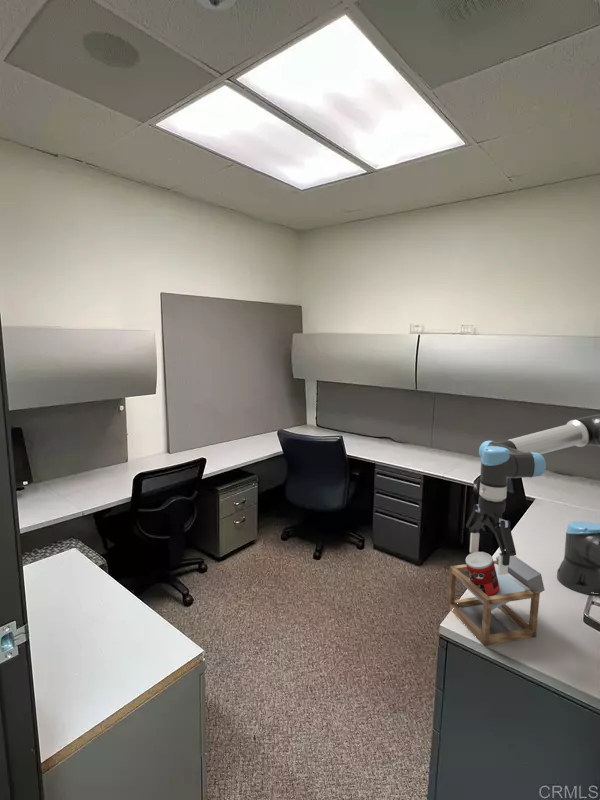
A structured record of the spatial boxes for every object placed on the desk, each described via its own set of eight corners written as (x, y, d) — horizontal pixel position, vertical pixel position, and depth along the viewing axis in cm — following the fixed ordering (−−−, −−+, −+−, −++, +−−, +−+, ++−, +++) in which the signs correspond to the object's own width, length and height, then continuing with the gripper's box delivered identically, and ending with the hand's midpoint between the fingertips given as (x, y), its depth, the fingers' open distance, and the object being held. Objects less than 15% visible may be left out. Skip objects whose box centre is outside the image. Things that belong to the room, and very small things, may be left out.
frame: (493, 599, 145) (496, 560, 143) (535, 636, 127) (539, 592, 125) (447, 606, 141) (449, 566, 139) (483, 645, 123) (487, 600, 121)
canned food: (468, 586, 135) (460, 556, 133) (490, 577, 136) (483, 548, 134) (481, 601, 128) (473, 570, 126) (505, 592, 128) (497, 561, 126)
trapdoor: (511, 566, 142) (507, 551, 141) (545, 590, 128) (541, 574, 127) (463, 589, 139) (459, 574, 138) (492, 617, 125) (488, 601, 124)
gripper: (457, 484, 139) (453, 544, 142) (510, 514, 115) (505, 586, 118) (477, 483, 141) (473, 542, 144) (533, 512, 117) (527, 582, 120)
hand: (487, 562), depth 131 cm, fingers open, 13 cm apart
